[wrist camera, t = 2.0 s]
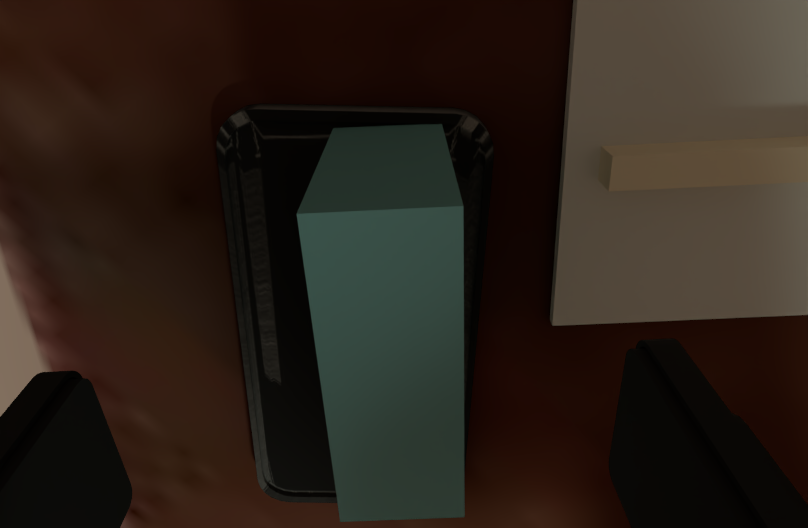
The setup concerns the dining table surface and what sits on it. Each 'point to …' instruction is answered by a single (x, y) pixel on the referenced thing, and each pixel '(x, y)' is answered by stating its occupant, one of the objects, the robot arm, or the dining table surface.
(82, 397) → the robot arm
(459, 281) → the teal rectangular block
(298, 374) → the phone
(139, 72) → the dining table surface
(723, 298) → the slot mat
